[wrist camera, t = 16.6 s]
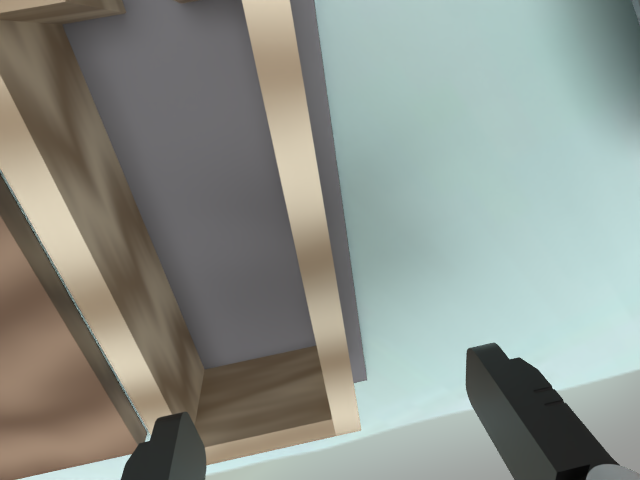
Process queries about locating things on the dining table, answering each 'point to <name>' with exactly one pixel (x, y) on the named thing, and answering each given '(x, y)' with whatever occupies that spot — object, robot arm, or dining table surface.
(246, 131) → the rubber mat
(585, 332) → the dining table surface
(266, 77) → the wooden open box
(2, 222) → the post stand
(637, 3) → the orange round jug
